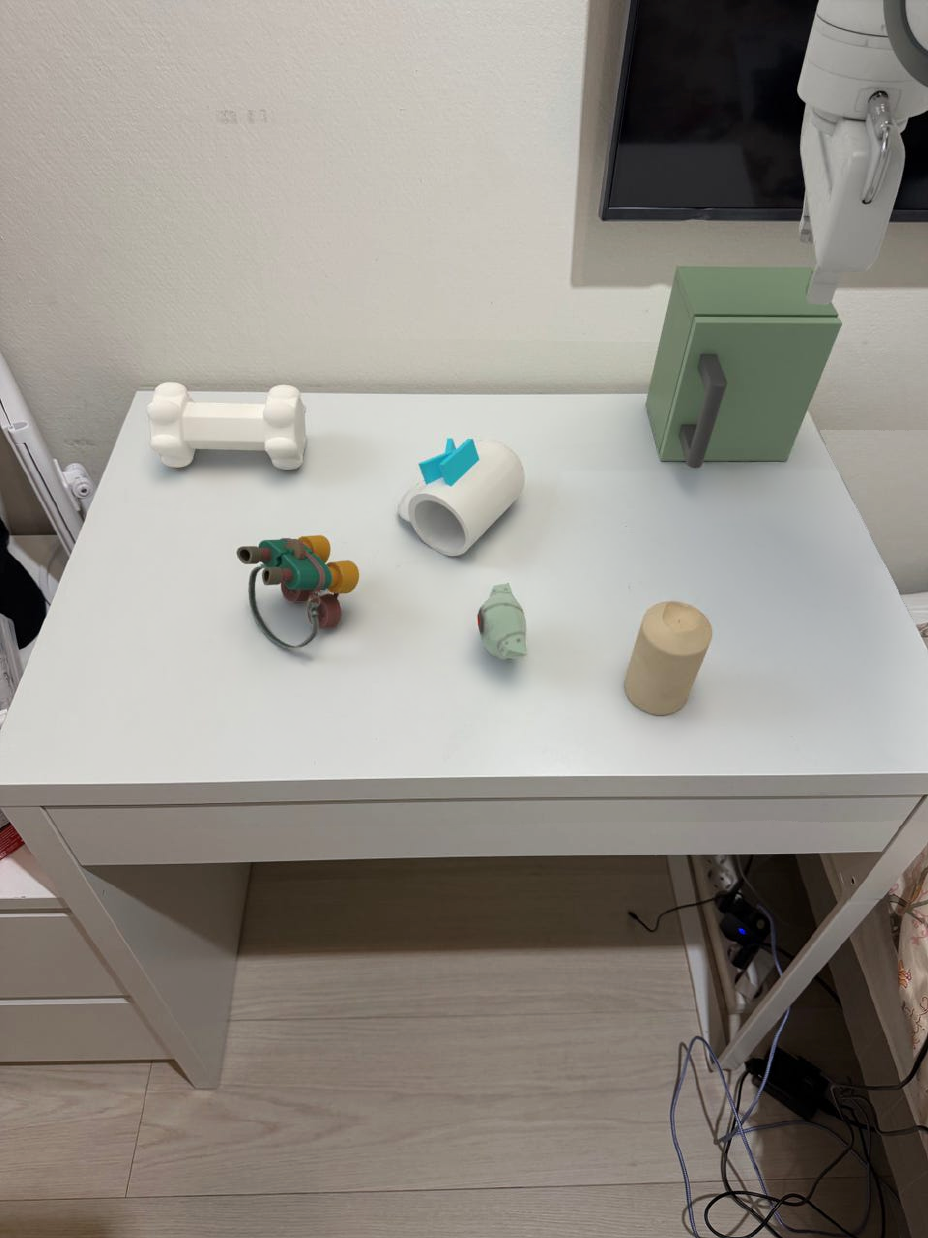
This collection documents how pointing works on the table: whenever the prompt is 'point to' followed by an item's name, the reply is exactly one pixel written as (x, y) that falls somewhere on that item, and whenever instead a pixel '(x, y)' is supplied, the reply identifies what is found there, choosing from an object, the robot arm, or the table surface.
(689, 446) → the door
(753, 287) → the cabinet
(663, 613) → the candle
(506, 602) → the robot head
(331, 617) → the binoculars
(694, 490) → the table surface
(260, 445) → the dog bone
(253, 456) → the table surface
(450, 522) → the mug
